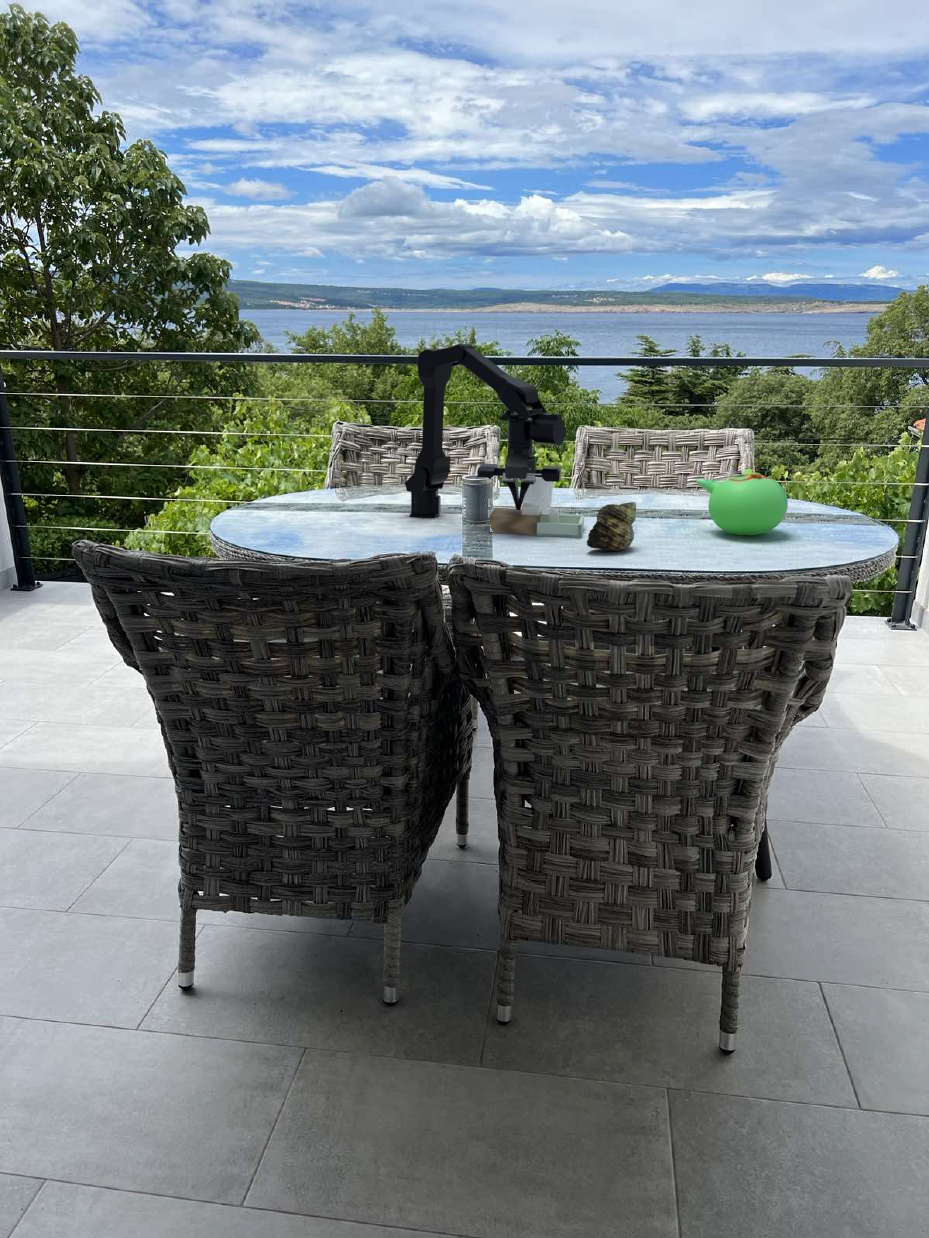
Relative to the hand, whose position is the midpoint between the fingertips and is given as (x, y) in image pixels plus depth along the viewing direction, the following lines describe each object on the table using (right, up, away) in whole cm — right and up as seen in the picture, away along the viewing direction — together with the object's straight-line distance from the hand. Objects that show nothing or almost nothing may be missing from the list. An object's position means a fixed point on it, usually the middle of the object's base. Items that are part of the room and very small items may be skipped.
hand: (518, 510), depth 228 cm
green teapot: (+52, -6, 0) cm, 52 cm away
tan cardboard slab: (-1, -4, +2) cm, 5 cm away
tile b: (+7, -2, 0) cm, 8 cm away
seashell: (+19, -10, -16) cm, 26 cm away
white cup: (+6, +1, +19) cm, 20 cm away
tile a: (+3, -1, 0) cm, 3 cm away
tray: (+10, -5, 0) cm, 11 cm away
